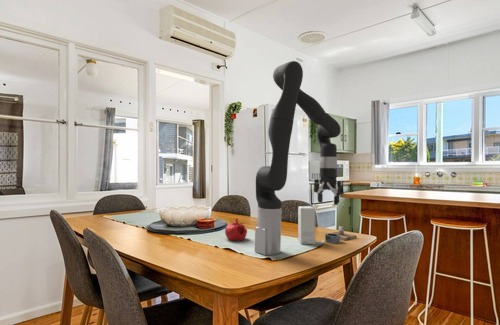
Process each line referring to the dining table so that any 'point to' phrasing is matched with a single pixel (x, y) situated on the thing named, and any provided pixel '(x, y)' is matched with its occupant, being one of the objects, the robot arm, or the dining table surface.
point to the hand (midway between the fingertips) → (328, 203)
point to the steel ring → (332, 238)
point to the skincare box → (306, 224)
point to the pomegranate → (235, 231)
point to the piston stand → (344, 234)
